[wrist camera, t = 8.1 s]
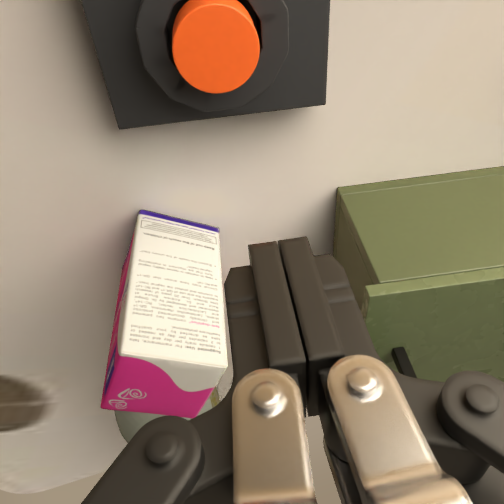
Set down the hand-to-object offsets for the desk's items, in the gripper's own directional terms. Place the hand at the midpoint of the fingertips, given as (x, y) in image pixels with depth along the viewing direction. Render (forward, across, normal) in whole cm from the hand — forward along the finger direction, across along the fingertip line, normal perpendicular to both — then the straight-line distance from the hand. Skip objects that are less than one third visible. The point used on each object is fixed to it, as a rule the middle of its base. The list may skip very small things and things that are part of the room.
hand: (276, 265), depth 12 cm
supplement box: (+17, +6, +13) cm, 22 cm away
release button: (+13, +1, -2) cm, 13 cm away
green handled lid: (+7, -13, +17) cm, 23 cm away
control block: (+16, +1, -2) cm, 16 cm away
